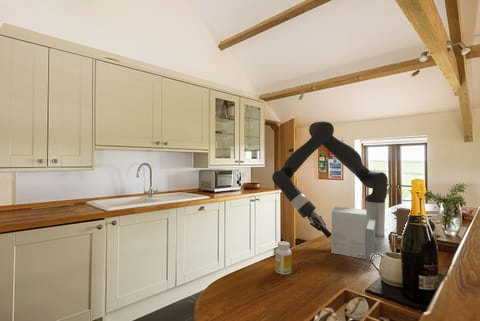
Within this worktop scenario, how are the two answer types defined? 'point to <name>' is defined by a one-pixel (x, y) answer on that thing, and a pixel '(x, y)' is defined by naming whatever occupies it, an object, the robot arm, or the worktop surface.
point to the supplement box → (349, 232)
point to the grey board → (370, 238)
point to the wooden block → (401, 219)
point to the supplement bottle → (283, 258)
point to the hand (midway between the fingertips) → (329, 236)
